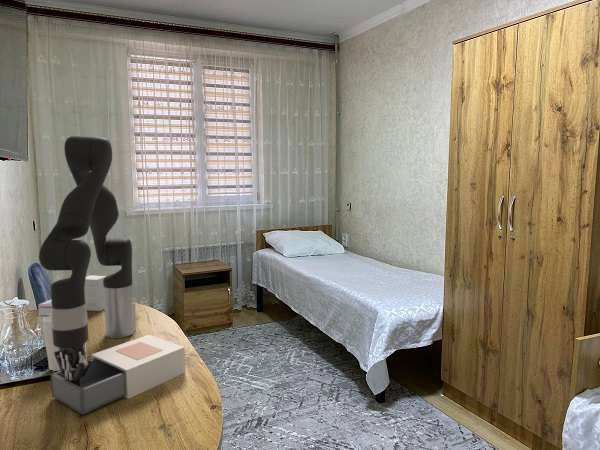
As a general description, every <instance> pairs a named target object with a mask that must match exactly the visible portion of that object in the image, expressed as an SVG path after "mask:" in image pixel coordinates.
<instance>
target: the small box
mask: <svg viewBox="0 0 600 450" xmlns="http://www.w3.org/2000/svg"><path fill="white" fill-rule="evenodd" d="M106 276H107V275H92V274H91V275H86V279H85V287H84V290H85V305H86V310H87V311H90V312H91V311H92V312H101V311H103V310H105V306H104V288H103V279H104V278H105V277H106Z"/></svg>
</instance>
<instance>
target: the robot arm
mask: <svg viewBox="0 0 600 450" xmlns="http://www.w3.org/2000/svg"><path fill="white" fill-rule="evenodd" d="M64 156H65V160H66V163H67V166H68V168H69V171H70V174H71V176H72V178H73V179H74V183H75V184H76V187H74V188H73V189H72V190H71V191H70V192H69V193H68V194H67V195H66V196H65V198H64V200H63V202H62V204H61V207H60V209H59V213H58V217H57V221H56V223H55V225H54V226H53V227H52V230H51V231H50V233H49V234H48V235H47V236H46V238H45V240H44V241H43V242H42V245H41V247H40V249H39V253H38V260H39V263H40V265H41V267H42V268H43V269H45V270H46V271H55V272H56V271H71V275H70V277H67V278H62V279H59V280H56V281H54V282H53V283H52V284H50V285H51V286H50V297H51V299H50V300H51V301H52V315H51V319H52V333H53V344H54V346H56V347H58V348H59V350H58V351H56V352H54V355H55V358H56V360H57V363H58V365H59V368H60V370H61V373H62V374H65V377H66V379H67V380H68V381H70V382H71V383H73V384H75V385H77V386H79V387H80V378H82V377H84V376H85V375H86V373H87V371H88V369H89V367H90V365H91V361H90V360H91V359H86V358H85V356H86V355H85V354H86V352H85V349H84V345H85V344H86V343H87V342H88V341H89V325H88V324H89V323H88V310H86V305H85V290H84V287H85V279H86V277H87V273H88V268H89V265H90V261H91V256H92V251H91V248H90V245H89V244H88V243H87V242H86V241H85V240H83V239H80V238H83V237H84V236H86V235H87V234H88V232H89V229H90V231H91V235H92V237H93V238H92V239H93V244H94V250H95V254H96V259H97V261H98V263H99V264H100V265H101V266H104V267H115V266H118V267H119V266H121V267H120V269H119V270H118V271H116V272H115V273H112V274H109V275H105V276H106V277H105V278H104V279H103V288H104V306H105V309H104V323H105V336H106V337H107V338H109V339H120V338H121V339H122V338H128V337H129V336H131V335H133V334H134V333H135V331H136V329H137V327H136V326H137V325H136V322H137V321H136V305H135V303H134V291H133V290H134V289H133V288H134V287H133V243H132V241H131V240H130V239H129V238H128V237H127V238H125V237H115V238H113V237H112V238H108V237H107V235H108V233H109V232H110V231H111V230H112V228H113V227H114V225H116V223H117V221H118V218H119V216H120V215H119V213H120V212H119V208H118V207H119V206H118V203H117V200H116V197H115V195H114V193H113V192H112V191H111V190H110V189H109V188H108V187H107V185H105V184H104V183H105V181H106V178H107V176H108V173H109V171H110V169H111V166H112V162H113V161H112V160H113V148H112V144H111V141H110V140H109V139H108V138H106V137H103V136H102V137H101V136H89V135H88V136H86V135H73V136H72V135H71V136H69V137H67V138H66V140H65V142H64Z"/></svg>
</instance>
